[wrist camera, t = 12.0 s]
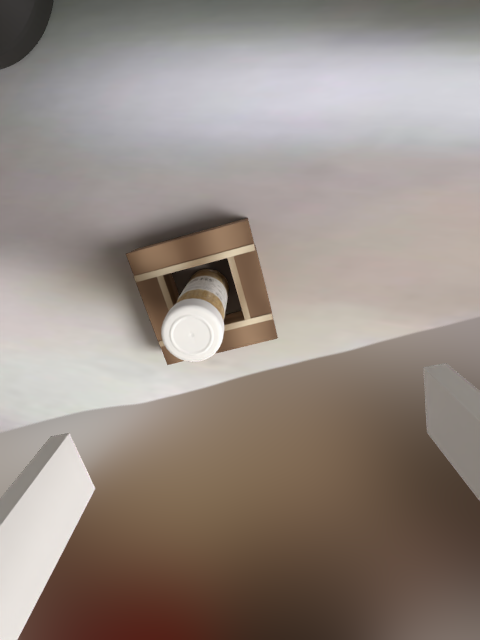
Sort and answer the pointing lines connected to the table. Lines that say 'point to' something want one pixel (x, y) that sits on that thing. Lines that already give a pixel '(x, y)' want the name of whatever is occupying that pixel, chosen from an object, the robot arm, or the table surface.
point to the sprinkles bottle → (197, 317)
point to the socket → (195, 250)
